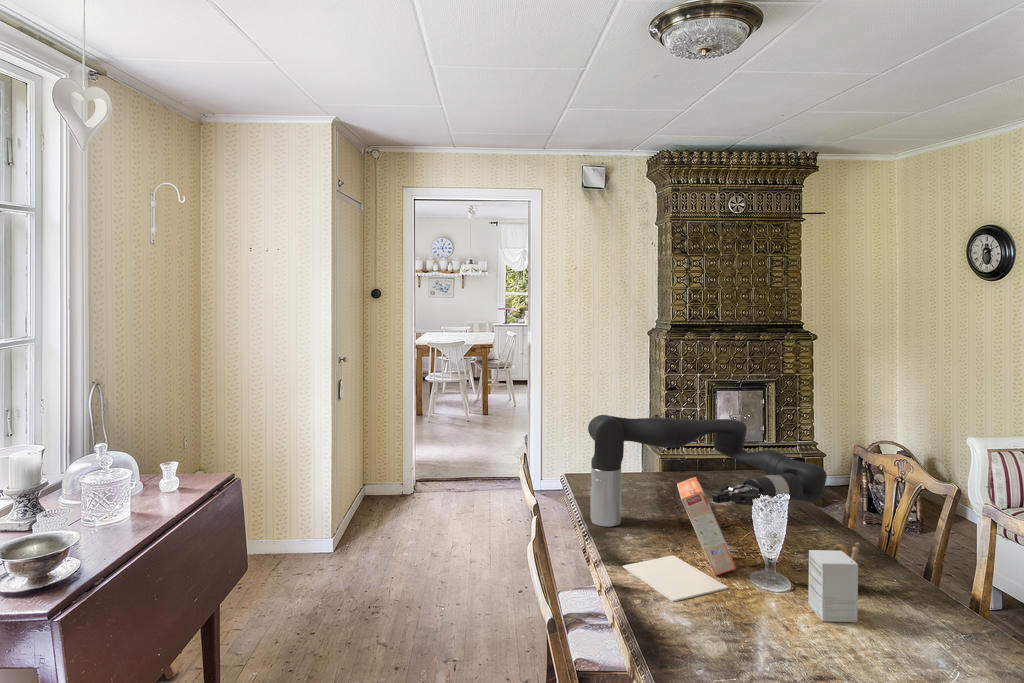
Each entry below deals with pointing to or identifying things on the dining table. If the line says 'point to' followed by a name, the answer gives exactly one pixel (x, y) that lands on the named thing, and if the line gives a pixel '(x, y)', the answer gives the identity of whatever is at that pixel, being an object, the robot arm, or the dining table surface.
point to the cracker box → (706, 526)
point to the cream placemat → (674, 578)
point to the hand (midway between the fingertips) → (714, 498)
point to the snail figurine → (847, 550)
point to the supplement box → (833, 586)
